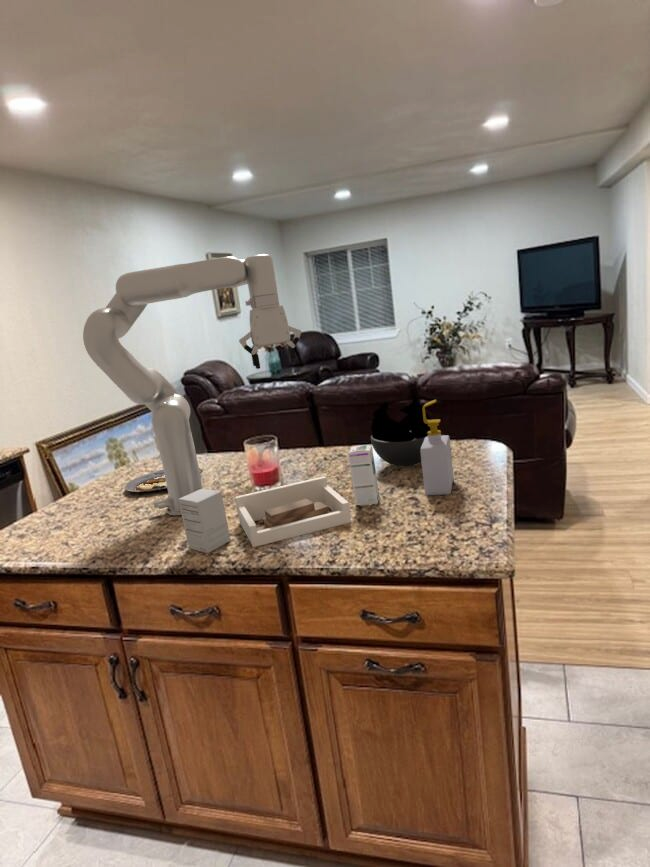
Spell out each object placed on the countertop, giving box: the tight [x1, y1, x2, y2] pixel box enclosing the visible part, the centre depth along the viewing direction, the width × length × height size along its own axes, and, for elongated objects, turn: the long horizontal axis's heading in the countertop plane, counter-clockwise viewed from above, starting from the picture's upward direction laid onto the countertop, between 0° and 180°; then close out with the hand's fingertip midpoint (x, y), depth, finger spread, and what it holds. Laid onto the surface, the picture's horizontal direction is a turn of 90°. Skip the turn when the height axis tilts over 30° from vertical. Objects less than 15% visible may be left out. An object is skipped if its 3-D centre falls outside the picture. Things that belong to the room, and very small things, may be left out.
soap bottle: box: [420, 399, 454, 496], centre depth 156 cm, size 12×7×23 cm, turn 165°
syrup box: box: [347, 444, 380, 506], centre depth 154 cm, size 6×6×14 cm
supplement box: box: [178, 488, 232, 554], centre depth 140 cm, size 7×7×13 cm
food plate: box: [124, 467, 203, 493], centre depth 200 cm, size 25×23×4 cm
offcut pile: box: [256, 499, 331, 531], centre depth 144 cm, size 18×6×6 cm, turn 116°
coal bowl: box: [370, 402, 432, 468], centre depth 179 cm, size 20×20×19 cm
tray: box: [234, 476, 352, 548], centre depth 148 cm, size 24×18×7 cm
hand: (275, 365), depth 165 cm, fingers open, 9 cm apart
